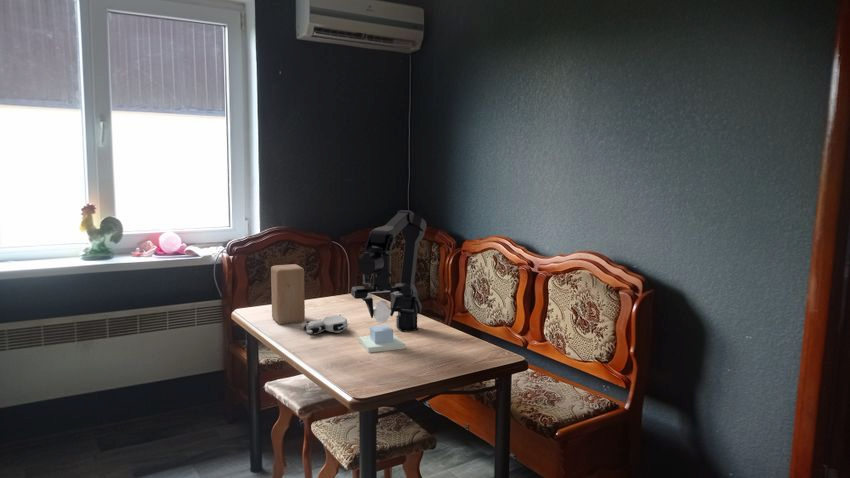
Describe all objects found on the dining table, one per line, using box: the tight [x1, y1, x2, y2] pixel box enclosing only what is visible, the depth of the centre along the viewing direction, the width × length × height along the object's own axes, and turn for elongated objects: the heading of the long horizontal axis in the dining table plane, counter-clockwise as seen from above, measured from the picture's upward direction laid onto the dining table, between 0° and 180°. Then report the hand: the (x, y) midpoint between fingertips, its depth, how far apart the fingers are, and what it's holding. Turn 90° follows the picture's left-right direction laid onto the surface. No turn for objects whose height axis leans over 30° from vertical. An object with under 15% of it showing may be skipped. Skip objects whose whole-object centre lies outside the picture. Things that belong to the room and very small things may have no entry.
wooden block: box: [270, 263, 306, 325], centre depth 229 cm, size 10×10×20 cm
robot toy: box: [301, 314, 350, 335], centre depth 216 cm, size 12×4×15 cm
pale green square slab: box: [358, 333, 406, 353], centre depth 202 cm, size 12×12×2 cm
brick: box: [369, 324, 394, 344], centre depth 202 cm, size 6×6×4 cm
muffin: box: [373, 299, 391, 324], centre depth 201 cm, size 6×6×7 cm
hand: (381, 316), depth 201 cm, fingers closed on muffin, 6 cm apart
